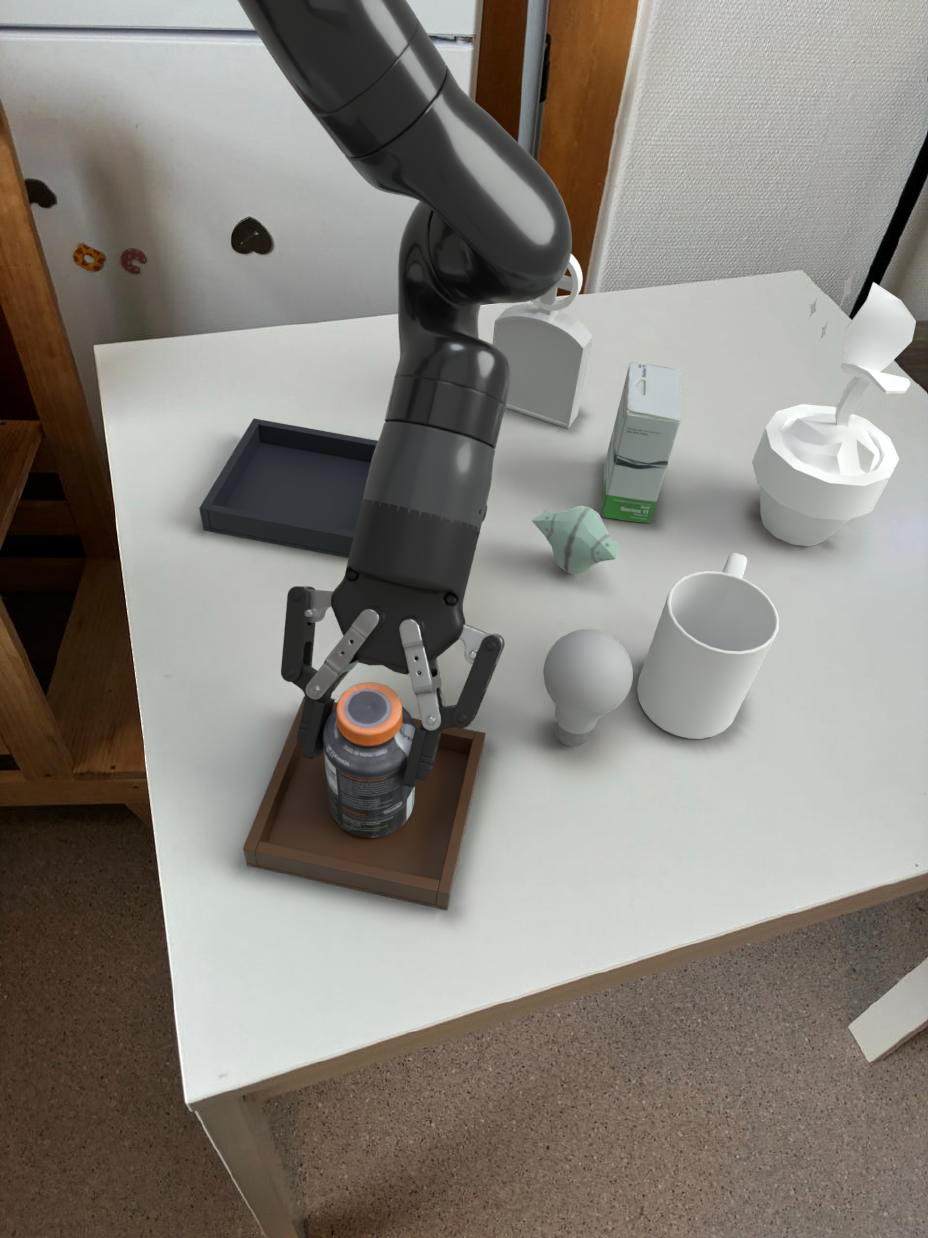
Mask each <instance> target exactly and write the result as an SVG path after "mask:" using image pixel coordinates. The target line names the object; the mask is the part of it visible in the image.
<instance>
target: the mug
mask: <svg viewBox="0 0 928 1238" xmlns="http://www.w3.org/2000/svg"><path fill="white" fill-rule="evenodd" d="M748 562H749V561H748V557H746V555H743V554H740V553H737V552H730V553H729V555H728V557H727V559H726V561H725V563H724V567H723V568H722V571H714V570H713V571H712V570H704V571H696V572H692V573H690V574H687V575H685V576H682V577H681V578H680V579H678V580H677V581H676V582H674V584H672V586H671V587H670V590H669V591H668V593H667V597H666V598H665V602H664V605H663V608H662V611H661V614H660V616H659V619H658V622H657V626H656V629H655V632H654V634H653V637H652V640H651V643H650V645H649V647H648V648H649V649H648V651H647V654H646V656H645V661H644V663H643V666H642V669H641V672H640V674H639V677H638V681H637V688H636V692H637V698H638V702H639V704H640V707H641V709H642V710H643V712H644V714H645V715H646V716H647V717H648V718H649V719H650V721H651V722H652V723H654V724H655V725H656V726H658V727H659V728H660V729H661V730H663V731H665V732H668V733H669V734H672V735H674V736H676V737H681V738H684V739H691V740H692V739H693V740H702V739H707V738H713V737H715V736H717V735H719V734H721V733H724V732H725V731H726V730H727V729H728V728H729V727H730V726H731V725H732V724H733V722H734V720H735V718H736V716H737V715H738V712H739V710H740V708H741V707H742V704H743V702H744V700H745V698H746V696H747V694H748V692H749V690H750V688H751V686H752V684H753V682H754V680H755V678H756V676H757V674H758V672H759V671H760V668H761V666H762V664H763V663H764V660H765V658H766V656H767V654H768V653H769V650H770V648H771V646H772V644H773V642H774V640H775V638H776V636H777V634H778V632H779V629H780V617H779V615H778V611H777V607H776V605H774V603H773V602H772V600H771V598H770V597H769V596H768V595H767V594H766V593H765V592H764V591H763V590H762V589H761V588H759V587H758V586H756V585H755V584H754V583H752V582H750V581H749V580H746V579H744V578H743V577H744V574H745V572H746V568H747V564H748Z"/></svg>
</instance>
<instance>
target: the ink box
mask: <svg viewBox="0 0 928 1238" xmlns="http://www.w3.org/2000/svg"><path fill="white" fill-rule="evenodd" d="M681 376H682V375H681V370H679V369H676V368H671V367H666V366H660V365H655V364H649V363H642V362H637V361H631V362H629V364H628V367H627V372H626V376H625V381H624V384H623V387H622V392H621V396H620V400H619V405H618V408H617V412H616V417H615V420H614V424H613V428H612V431H611V437H610V440H609V444H608V448H607V452H606V456H605V461H604V469H603V483H602V484H603V485H602V498H601V516H602V517H603V518H608V519H614V520H620V521H628V522H634V523H635V522H636V523H645V524H651V522H652V518H653V515H654V512H655V508H656V505H657V501H658V498H659V495H660V492H661V488H662V484H663V483H664V478H665V474H666V471H667V468H668V465H669V461H670V458H671V454H672V451H673V448H674V444H675V441H676V438H677V434H678V431H679V428H680V424H681V421H682V408H681V407H682V404H681V403H682V402H681V401H682V397H681V395H682V394H681V393H682V392H681V390H682V389H681V386H682V383H681V381H682V379H681Z"/></svg>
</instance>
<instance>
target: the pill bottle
mask: <svg viewBox="0 0 928 1238" xmlns="http://www.w3.org/2000/svg"><path fill="white" fill-rule="evenodd" d="M412 718H413V717H412V716H411V713H410V712H409V711H408V710H407V708H405V707H404V706H403V703H402V700H401V698H400V696H399V695H398V694H397V692H396V691H395V690H393V689H392V688H391V687H389V686H388V685H386V684H383V683H381V682H374V681H373V682H372V681H368V682H367V681H365V682H360V683H357V684H354V685H351V686H350V687H349V688H348V689H346V690H345V691H344V692H343V693H342V694H341V696H340V697H339V699H338V700H337V708H336V709H335V710H334V711H333V712H332V713H331V714H330V716H329V717H328V719H327V721H326V723H325V726H324V730H323V746H324V757H325V768H326V778H327V788H328V800H329V808H330V811H331V814H332V816H333V818H334V820H335V821H336V823H337V824H338V825H339V826H340V827H341V828H342V829H344V830H345V831H347V832H349V833H350V834H353V835H355V836H358V837H363V838H379V837H382V836H386V835H388V834H391V833H392V832H394V831H396V830H398V829H399V828H400V827H401V826H402V825H404V824H405V822H406V821H407V820H408V818H409V816H410V814H411V812H412V809H413V805H414V791H415V787H414V788H412V787H409V786H405V785H403V779H404V775H405V770H406V766H407V762H408V758H409V754H410V750H411V745H412V741H413V737H414V733H415V729H416V726H415V723H414V721H413V719H412Z"/></svg>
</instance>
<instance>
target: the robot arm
mask: <svg viewBox="0 0 928 1238" xmlns="http://www.w3.org/2000/svg"><path fill="white" fill-rule="evenodd" d="M237 2H238V4H239V5H240V8H242V10H243V12H244V14H245V15H246V18H247V19H248V20H249V22H250V24H251V25H252V27H253V28H254V30H255V32H256V33H257V35H258V37H259V38H260V40H261V42H262V44H263V45H264V46H265V48H266V50H267V51H268V53H269V55H270V56H271V57H272V59H273V61H274V62H275V64H276V65H277V66H278V68H279V70H280V71H281V73H282V75H283V76H284V77H285V79H286V80H287V81H288V83H289V84H290V86H291V87H292V88H293V90H294V91H295V93H296V94H297V95H298V97H299V98H300V99H301V101H302V102H303V104H304V105H305V106H306V107H307V108H308V110H309V111H310V113H311V114H312V115H313V116H314V118H315V119H316V121H317V122H318V124H320V126H321V128H323V130H324V131H325V132H326V134H327V135H328V136H329V138H330V139H331V140H332V141H333V142H334V144H335V146H336V147H337V148H338V149H339V151H340V152H341V153H342V154H343V155H344V157H345V158H346V159H347V161H348V162H349V164H350V165H351V166H352V167H353V168H354V169H355V171H356V172H357V173H358V174H359V175H360V177H362V178H363V180H365V182H367V183H368V184H369V185H370V186H371V187H373V188H374V189H375V190H377V191H381V192H384V193H387V194H391V195H397V196H401V197H406V198H411V199H413V200H417V201H418V202H417V204H416V205H415V206H414V209H413V210H412V212H411V214H410V216H409V218H408V220H407V222H406V223H405V227H404V229H403V232H402V235H401V240H400V245H399V251H398V263H397V264H398V265H397V269H398V270H397V273H398V274H397V286H398V287H397V290H398V291H397V293H398V294H397V295H398V296H397V297H398V298H397V301H398V303H397V305H398V306H397V308H398V309H397V310H398V311H397V313H398V314H397V323H398V324H397V325H398V327H397V328H398V340H399V341H398V343H399V360H398V364H397V367H396V370H395V374H394V379H393V382H392V386H391V390H390V395H389V400H388V404H387V408H386V413H385V416H384V423H383V424H382V425H383V426H382V428H381V432H380V435H379V438H378V440H377V441H378V443H377V445H376V448H375V451H374V453H373V456H372V460H371V463H370V467H369V472H368V476H367V480H366V484H365V489H364V493H363V498H362V502H361V506H360V510H359V515H358V519H357V523H356V528H355V532H354V536H353V541H352V545H351V549H350V554H349V558H347V562H346V567H345V572H344V575H343V578H342V580H341V581H340V583H339V584H338V585H337V586H336V587H335V588H334V590H333V591H332V590H322V589H316V588H314V587H313V586H309V585H308V586H305V585H304V586H301V585H299V586H297V585H296V586H292V587H291V588H289V590H288V592H287V595H286V608H285V609H286V610H285V620H284V631H283V644H282V656H281V665H280V667H281V668H280V675H281V678H282V679H283V680H284V681H286V682H288V683H292V684H293V685H295V686H296V687H298V688H299V689H300V690H301V691H302V692H303V694H304V696H305V703H304V708H303V712H302V716H301V721H300V725H299V729H298V734H297V743H298V746H300V747H304V748H303V754H302V756H303V757H305V758H309V759H313V760H314V759H316V758H317V757H319V756H320V755H321V754H322V751H323V748H324V746H323V730H324V726H325V723H326V721H327V719H328V717H329V716H330V714H331V713H332V710H333V705H334V702H336V699H335V698H332V694H333V693H334V691H336V689H337V688H338V687H339V686H340V684H341V683H342V682H343V681H344V679H345V678H346V677H347V675H348V674H350V672H351V671H352V670H353V669H355V667H356V666H357V665H358V664H363V665H365V666H383V667H385V668H387V669H388V670H390V671H392V672H394V673H397V674H402V675H405V676H406V675H409V678H410V683H411V689H412V692H413V694H414V695H415V698H416V702H417V708H418V712H419V717H420V720H421V724H420V725H419V726H418V727H417V728H416V729H415V733H414V737H413V741H412V745H411V750H410V754H409V758H408V762H407V766H406V770H405V775H404V779H403V785H405V786H409V787H412V788H414V787H415V786H416V785H417V784H418V782H419V780H422V781H424V780H425V779H426V777H427V776H428V775H429V774H430V772H431V771H432V769H433V765H434V761H435V757H436V753H437V749H438V744H439V740H440V736H441V732H442V730H443V729H446V728H453V727H458V728H464V729H467V728H468V727H469V726H470V725H471V723H473V721H474V720H475V719H476V717H477V715H478V713H479V710H480V708H481V705H482V703H483V700H484V697H485V695H486V693H487V690H488V687H489V685H490V683H491V680H492V678H493V675H494V672H495V670H496V668H497V665H498V662H499V660H500V658H501V655H502V653H503V650H504V647H505V639H504V637H503V636H502V635H500V634H499V633H488V632H487V631H483V630H481V629H479V628H476V627H474V626H471V625H469V624H467V623H466V618H465V614H464V600H465V595H466V591H467V588H468V584H469V579H470V575H471V571H472V566H473V563H474V558H475V554H476V550H477V546H478V541H479V537H480V534H481V529H482V525H483V522H484V521H485V519H486V515H487V511H488V499H489V496H490V492H491V485H492V477H493V468H494V460H495V455H496V448H497V444H498V440H499V435H500V431H501V427H502V423H503V419H504V414H505V410H506V408H505V406H506V403H507V399H508V395H509V390H510V385H511V364H510V362H509V360H508V358H507V356H506V355H505V354H504V353H503V352H502V351H501V350H500V349H498V348H497V347H496V346H494V345H492V344H493V343H490V342H488V341H485V340H483V339H481V338H480V337H479V315H480V310H481V305H494V304H495V305H496V304H497V305H498V304H519V303H527V302H531V300H534V299H537V298H540V297H542V296H544V295H546V294H547V293H549V292H550V291H551V290H553V289H554V288H555V287H556V286H557V284H558V283H559V282H560V281H561V279H562V277H563V276H564V275H565V274H566V272H567V270H568V268H567V267H568V265H569V261H570V256H571V254H572V249H573V247H572V246H573V235H572V226H571V221H570V218H569V217H570V216H569V214H568V210H567V208H566V204H565V202H564V199H563V197H562V195H561V193H560V192H559V189H558V188H557V186H556V184H555V183H554V181H553V180H552V178H551V177H550V176H549V175H548V173H547V172H546V170H545V169H544V168H543V167H542V166H541V165H540V164H539V163H538V161H537V160H536V159H535V158H534V157H533V156H532V155H531V154H530V153H529V152H528V151H527V150H526V149H525V148H524V147H523V146H522V145H521V144H520V143H519V142H518V141H516V140H515V138H514V137H512V135H510V133H509V132H508V131H506V129H504V128H503V126H502V125H501V124H500V123H499V122H498V121H497V120H496V119H495V118H494V117H493V116H492V115H491V114H490V113H488V112H487V110H485V109H484V108H482V107H481V106H480V104H479V103H477V102H475V100H474V99H472V98H471V97H470V96H469V95H468V94H467V93H466V92H465V91H464V90H463V89H462V88H461V87H460V85H459V84H458V82H457V80H456V78H455V76H454V75H453V73H452V72H451V70H450V68H449V66H448V65H447V63H446V61H445V60H444V59H443V57H442V55H441V53H440V52H439V50H438V48H437V47H436V46H435V44H434V43H433V40H432V39H431V37H430V36H429V34H428V33H427V31H426V29H425V28H424V26H423V25H422V23H421V21H420V19H419V18H418V17H417V14H416V13H415V12H414V10H413V9H412V7H411V5H410V4H409V3H408V1H407V0H237ZM330 608H331V609H332V612H333V614H334V616H335V619H336V622H337V624H338V627H339V629H340V631H341V634H342V638H341V639H340V640H339V641H338V642H337V644H336V645H335V646H334V648H332V650H331V651H330V652H329V654H328V655H326V657H325V659H324V662H323V664H322V665H321V666H320V667H319V668H318V670H317V669H316V668H315V667H313V655H314V645H315V635H316V634H315V633H316V624H317V623H320V622H321V621H323V619H325V616H326V613H327V611H328V609H330ZM459 640H461V642H462V643H463V645H464V647H465V649H464V654H463V655H464V659H465V661H466V662H467V663H469V664H470V665H471V667H470V670H469V673H468V675H467V677H466V680H465V682H464V685H463V688H462V690H461V692H460V694H459V697H458V700H457V702H456V704H451V705H446V703H445V697H444V693H443V688H442V686H443V685H442V684H443V682H442V676H441V672H440V666H439V663H438V662H439V661H438V658H439V657H440V656H441V655H442V654H444V653H445V652H446V651H447V650H448V649H449V648H450V647H452V646H453V645H454V644H455V643H456V642H457V641H459Z"/></svg>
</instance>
